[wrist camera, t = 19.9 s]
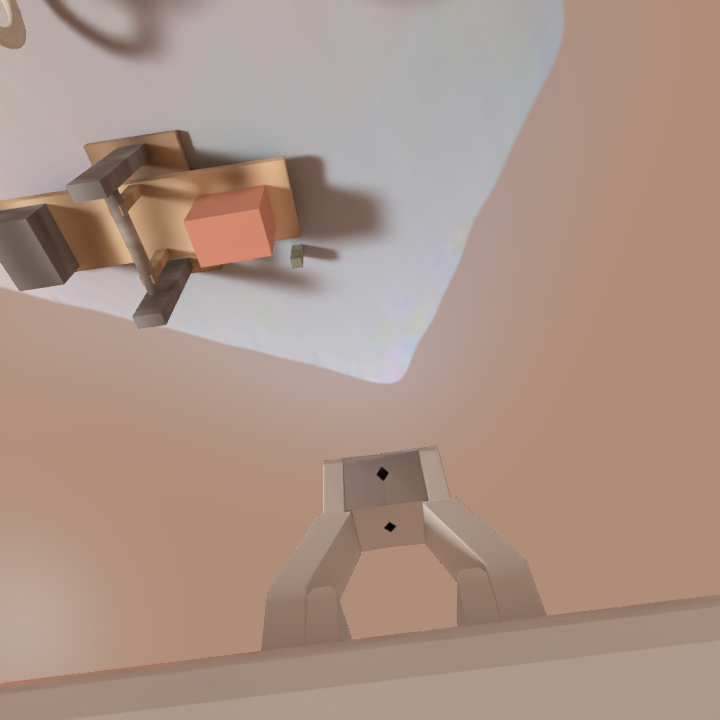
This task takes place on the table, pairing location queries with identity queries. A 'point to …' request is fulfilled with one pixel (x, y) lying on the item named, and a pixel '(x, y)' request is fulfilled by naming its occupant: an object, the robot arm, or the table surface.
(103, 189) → the stand
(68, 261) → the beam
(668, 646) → the robot arm
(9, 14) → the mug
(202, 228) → the salmon red rectangular block
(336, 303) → the table surface
